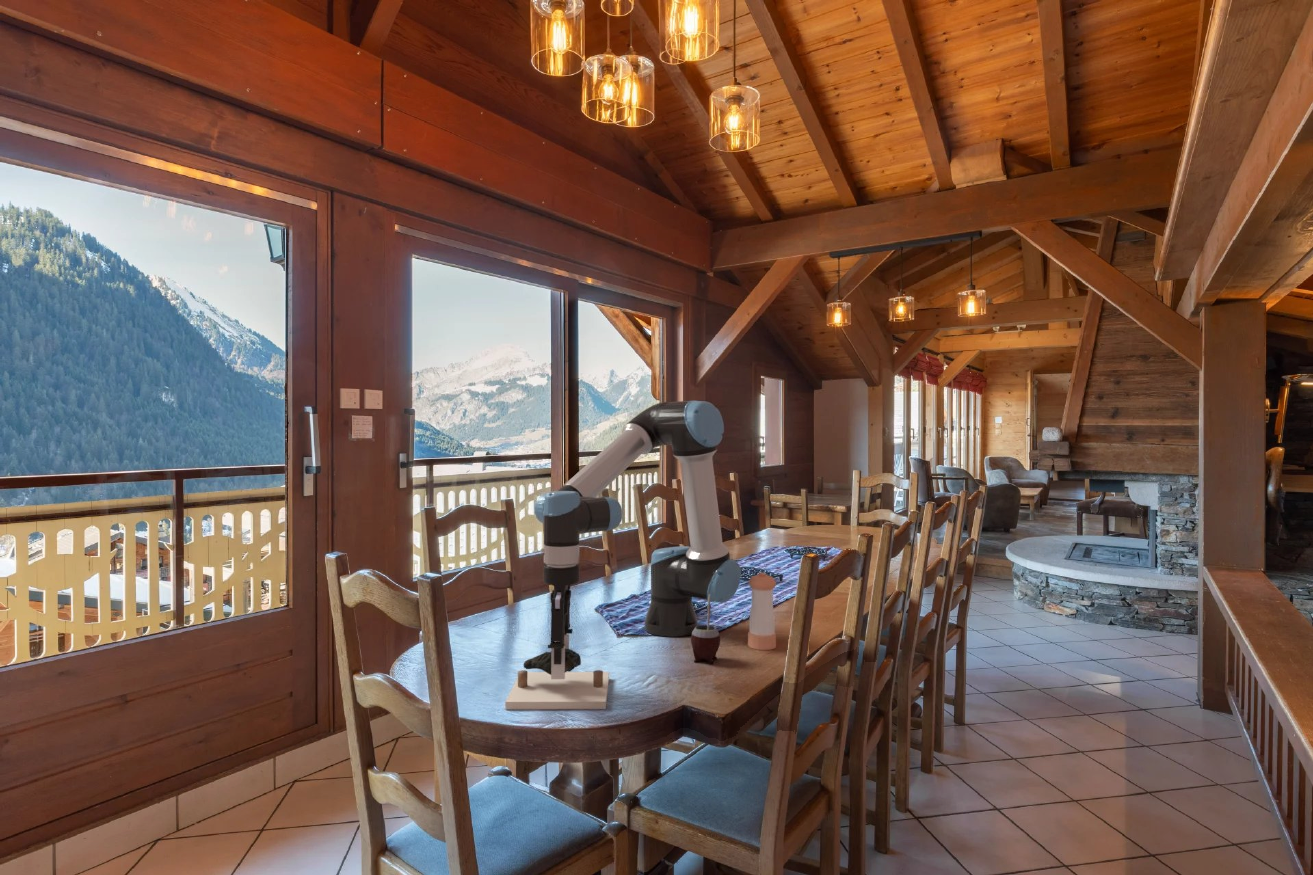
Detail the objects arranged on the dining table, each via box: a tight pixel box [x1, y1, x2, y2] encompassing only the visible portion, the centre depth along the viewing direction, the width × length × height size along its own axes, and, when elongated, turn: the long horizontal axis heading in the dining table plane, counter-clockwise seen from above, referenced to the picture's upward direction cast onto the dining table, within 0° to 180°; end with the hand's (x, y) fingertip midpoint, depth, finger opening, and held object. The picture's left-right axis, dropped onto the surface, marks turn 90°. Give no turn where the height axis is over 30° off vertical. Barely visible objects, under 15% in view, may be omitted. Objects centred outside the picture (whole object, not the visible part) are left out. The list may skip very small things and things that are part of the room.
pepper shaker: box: [747, 571, 777, 651], centre depth 178 cm, size 7×7×19 cm
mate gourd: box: [690, 594, 721, 666], centre depth 167 cm, size 8×8×15 cm
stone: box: [523, 648, 582, 675], centre depth 145 cm, size 7×13×5 cm, turn 69°
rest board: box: [504, 669, 610, 710], centre depth 145 cm, size 20×17×4 cm
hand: (560, 671), depth 145 cm, fingers closed on stone, 8 cm apart
